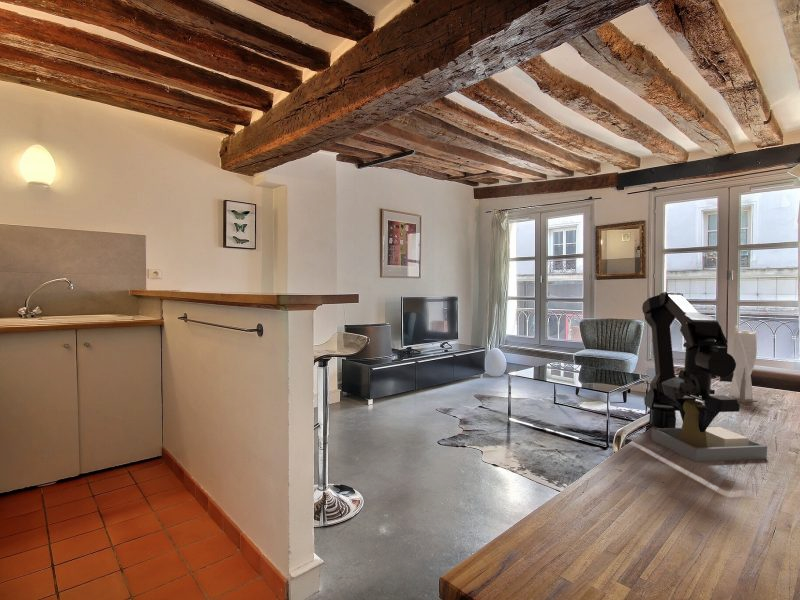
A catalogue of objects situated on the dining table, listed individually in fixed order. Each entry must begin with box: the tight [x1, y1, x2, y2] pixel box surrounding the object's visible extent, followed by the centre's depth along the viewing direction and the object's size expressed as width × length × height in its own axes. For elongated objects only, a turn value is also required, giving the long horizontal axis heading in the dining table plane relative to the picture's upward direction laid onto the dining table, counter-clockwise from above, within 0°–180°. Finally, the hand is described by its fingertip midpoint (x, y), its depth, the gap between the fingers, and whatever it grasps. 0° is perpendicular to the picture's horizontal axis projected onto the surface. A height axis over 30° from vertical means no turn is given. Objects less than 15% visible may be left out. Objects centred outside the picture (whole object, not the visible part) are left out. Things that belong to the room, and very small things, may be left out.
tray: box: [650, 427, 768, 463], centre depth 110 cm, size 14×20×4 cm
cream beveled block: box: [706, 426, 750, 448], centre depth 110 cm, size 8×7×4 cm
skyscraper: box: [726, 325, 758, 403], centre depth 164 cm, size 8×8×28 cm
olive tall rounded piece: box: [679, 400, 707, 448], centre depth 109 cm, size 6×6×11 cm
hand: (693, 428), depth 109 cm, fingers closed on olive tall rounded piece, 4 cm apart
